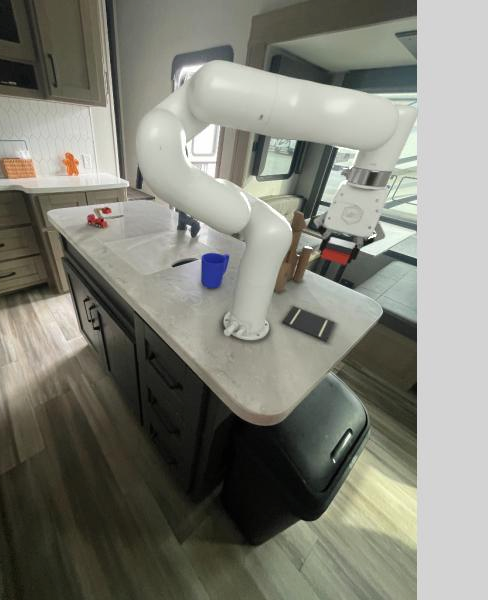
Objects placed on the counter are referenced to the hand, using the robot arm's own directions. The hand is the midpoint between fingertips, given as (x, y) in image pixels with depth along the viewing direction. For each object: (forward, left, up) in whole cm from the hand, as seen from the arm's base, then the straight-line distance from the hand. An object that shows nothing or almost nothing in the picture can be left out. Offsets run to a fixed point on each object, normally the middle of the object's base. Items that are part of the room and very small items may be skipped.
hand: (336, 256), depth 66 cm
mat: (0, 0, -21) cm, 21 cm away
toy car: (0, 0, +1) cm, 1 cm away
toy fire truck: (+9, +104, -22) cm, 107 cm away
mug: (+1, +33, -22) cm, 39 cm away
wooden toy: (+18, +14, -22) cm, 31 cm away
